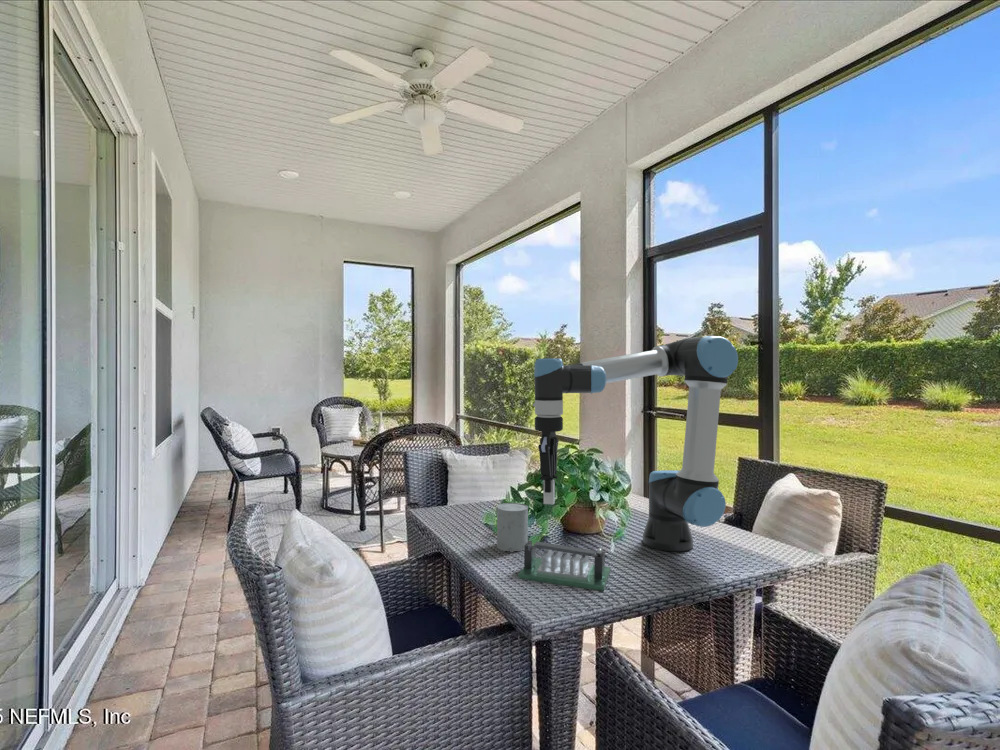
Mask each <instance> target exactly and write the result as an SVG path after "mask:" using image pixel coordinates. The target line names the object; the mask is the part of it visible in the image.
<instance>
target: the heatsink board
mask: <svg viewBox="0 0 1000 750" xmlns="http://www.w3.org/2000/svg"><path fill="white" fill-rule="evenodd" d="M536 550H537V549H536V548H535V547H534V545H533V541H531V540H528V542H527V543H526V544H525V545H524V551H523V552H524V553H523V554H524V556H523V557H524V558H523V559H524V560H523V561H524V563H523V568H522V569H521V570H520V571H519V572H518V579H522V580H527V581H532V582H533V581H534V582H540V583H548V584H554V585H555V584H556V585H561V586H567V587H575V588H582V589H587V590H588V589H589V590H595V591H601V592H604V591H605V589H606V586H607V582H608V580H609V576H610V574H611V567H609V566H606V564H605V561H606V559H605V558H606V555H605V554H606V552H605V551H604V550H603V551H602V553H601V555H600V556H599V555H597V551H595V555H594V559H593V560H594V561H593V562H594V563H593V562H590V561H589V560H590V556H585V555H581V558H580V555H579V554H573V553H572V555H571V553H567V552H560V551H554V550H548V549H544V552H543V553H542V554H541V557H536ZM587 550H589V549H588V548H587Z"/></svg>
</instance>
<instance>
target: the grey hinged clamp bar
mask: <svg viewBox="0 0 1000 750" xmlns="http://www.w3.org/2000/svg"><path fill="white" fill-rule="evenodd" d="M533 546H534V547H535V548H537V549H543V550H546V549H548V550H553V552H555V551H560V552H561V553H564V552H567V553H570V554H572V555H573V554H579V556H580V555H581V556H582V555H585V556H589V557H593V558H595V554H596V552H597V555H599V556H600V555H601V553H602V551H604V548H603V547H602V546H599V547H597V548H598V549H597V550H594V549H593V550H592V549H588V548H587V549H588V550H587V549H586V548H582V547H581V548H580V547H575V546H567V545H562V544H554V543H548V542H541V541H535V543H534V544H533Z"/></svg>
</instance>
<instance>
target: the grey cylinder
mask: <svg viewBox="0 0 1000 750" xmlns="http://www.w3.org/2000/svg"><path fill="white" fill-rule="evenodd" d="M496 508H497V510H496V512H497V513H496V515H497V517H496V522H497V523H496V524H497V525H496V548H497V549H498V550H499V549H500V550H499V551H502V550H503V551H502V552H505V551H510V552H509V553H512V552H511V551H520V550H524V545H525V544H526V543H527V542H528V541H529V540H528V535H529V534H528V533H529V531H528V530H529V528H528V527H529V526H528V525H529V524H528V522H529V519H528V518H529V517H528V516H529V506H528V505H526V504H524V503H519V502H505V503H500V504H498V505H497V506H496ZM520 552H521V551H520Z"/></svg>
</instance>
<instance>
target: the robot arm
mask: <svg viewBox="0 0 1000 750" xmlns="http://www.w3.org/2000/svg"><path fill="white" fill-rule="evenodd" d="M738 363H739V354H738V352H737V349H736V347H735V345H733V343H732V342H731V341H730V340H729V339H727V338H725V337H723V336H720V335H719V336H716V335H705V336H698V337H688V338H687V337H686V338H683V339H679V340H675V341H673V342H670V343H669V342H668V343H666V344H661V345H658V346H657V345H656V346H654V347H653V348H652V349H651V350H646V351H640V352H635V353H630V354H629V353H628V354H624V355H616V356H612V357H607V358H600V359H595V360H590V361H583V362H579V363H572V364H567V365H564V363H563V360H562V358H559V357H558V358H538V359H536V360H535V362H534V370H533V371H534V373H533V377H534V379H533V380H534V402H533V404H532V407H534V414H535V415H536V416H535V417H534V430H535V431H537V432H541V437H540V439H539V444H538V446H537V447H538V452H539V464H540V465H539V466H540V467H539V468H540V478H539V479H540V481H543V490H542V491H543V505H551V506H552V505H555V501H556V499H555V497H556V496H555V494H556V492H555V490H556V487H555V485H556V484H555V481H556V480H557V479H558V475H557V469H558V468H557V465H558V450H559V449H558V447H559V441H560V440H559V439H558V436H557V433H558V432H561V431H563V430H564V425H563V424H564V423H563V422H564V418H563V417H562V415H563V414H564V402H563V401H564V400H563V399H564V396H563V395H564V394H594V393H595V394H596V393H598V394H599V393H602V392H603V391H604V389H605V386H606V384H611V383H616V382H622V381H628V380H633V379H638V378H644V377H649V376H654V375H655V376H656V375H657V376H658V377H660V378H661V377H666V376H684V380H683V382H684V383H685V384H686V385H687V386H688V388H689V389H688V396H687V398H688V399H687V411H686V422H685V431H684V432H685V433H684V444H683V455H682V467H681V469H680V470H676V469H675V470H669V469H667V470H653V471H652V472H650V473H649V478H648V519H647V521H646V524H645V528H644V530H643V532H642V543H643V544H645V546H647V547H650V548H651V549H654V550H655V549H656V550H659V551H664V552H686V551H689V550H692V549H693V548H694V538H693V535H692V531H691V528H690V525H694V526H696V527H701V528H708V527H710V526H713V525H715V524H717V522H718V521H720V520H721V518H722V517H723V515H724V513H725V511H726V505H727V504H726V499H725V496H724V495H723V493H722V491H720V490H719V484H720V480H719V478H718V476H717V475H716V474H715V462H716V450H717V437H718V428H719V427H718V425H719V414H720V402H721V394H722V389H724V388H725V387H726V386H727V385H728V380H729V379H728V378H729V376H731V375H732V374H733V372H734V371H736V369H737V366H738ZM556 432H557V433H556ZM689 524H690V525H689Z"/></svg>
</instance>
